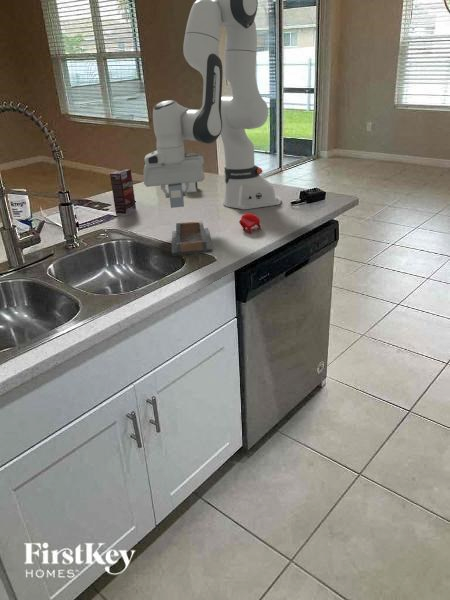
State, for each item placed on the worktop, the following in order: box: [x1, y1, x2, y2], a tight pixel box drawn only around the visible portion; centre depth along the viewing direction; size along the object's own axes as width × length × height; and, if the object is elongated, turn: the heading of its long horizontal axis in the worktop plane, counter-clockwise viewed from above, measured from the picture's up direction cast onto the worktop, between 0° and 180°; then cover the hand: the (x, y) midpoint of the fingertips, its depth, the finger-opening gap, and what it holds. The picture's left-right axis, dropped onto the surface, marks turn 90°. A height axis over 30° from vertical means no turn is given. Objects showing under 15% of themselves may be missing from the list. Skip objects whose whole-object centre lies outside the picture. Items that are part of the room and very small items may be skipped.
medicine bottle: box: [182, 182, 198, 194], centre depth 205 cm, size 7×7×12 cm
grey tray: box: [171, 220, 213, 257], centre depth 148 cm, size 12×20×4 cm, turn 5°
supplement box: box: [109, 168, 137, 217], centre depth 179 cm, size 9×5×16 cm, turn 163°
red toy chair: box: [239, 212, 262, 234], centre depth 155 cm, size 8×6×6 cm
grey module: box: [167, 183, 185, 209], centre depth 160 cm, size 4×7×7 cm, turn 5°
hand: (176, 196), depth 160 cm, fingers closed on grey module, 4 cm apart
